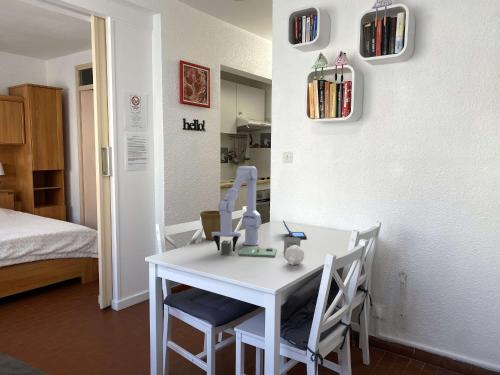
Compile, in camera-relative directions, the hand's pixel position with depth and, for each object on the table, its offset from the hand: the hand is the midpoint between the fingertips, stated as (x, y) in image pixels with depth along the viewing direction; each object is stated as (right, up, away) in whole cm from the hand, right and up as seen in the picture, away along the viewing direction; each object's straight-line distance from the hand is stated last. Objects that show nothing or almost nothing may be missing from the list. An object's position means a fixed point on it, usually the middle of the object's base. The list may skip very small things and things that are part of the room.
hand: (226, 250), depth 195 cm
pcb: (+16, -1, +1) cm, 16 cm away
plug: (0, -2, 0) cm, 2 cm away
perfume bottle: (+32, -4, -18) cm, 37 cm away
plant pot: (-10, +1, +32) cm, 33 cm away
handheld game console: (+39, +2, +39) cm, 55 cm away
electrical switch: (+34, -2, +2) cm, 34 cm away
